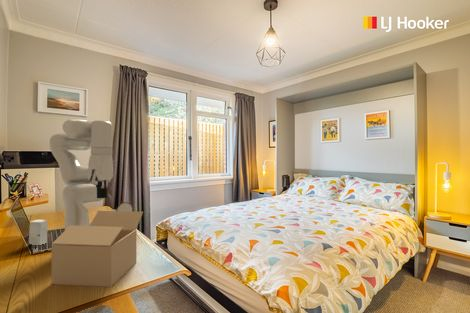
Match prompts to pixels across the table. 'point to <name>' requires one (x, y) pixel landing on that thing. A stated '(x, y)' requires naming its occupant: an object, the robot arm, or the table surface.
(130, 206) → the magnifying glass
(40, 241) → the skincare box
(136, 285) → the table surface
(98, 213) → the back flap
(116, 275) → the carton
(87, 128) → the robot arm
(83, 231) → the front flap
